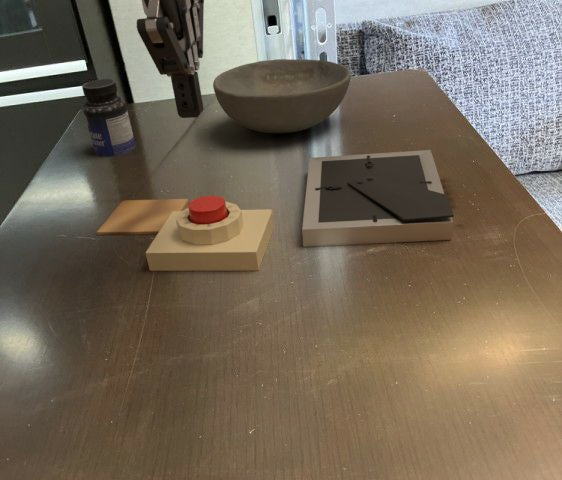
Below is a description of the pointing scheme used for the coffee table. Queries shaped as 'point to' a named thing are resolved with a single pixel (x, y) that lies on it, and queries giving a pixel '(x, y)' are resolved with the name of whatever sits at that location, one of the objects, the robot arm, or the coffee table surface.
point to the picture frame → (375, 200)
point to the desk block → (212, 242)
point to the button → (207, 210)
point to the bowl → (282, 93)
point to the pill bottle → (107, 118)
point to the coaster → (140, 216)
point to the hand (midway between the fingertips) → (191, 115)
